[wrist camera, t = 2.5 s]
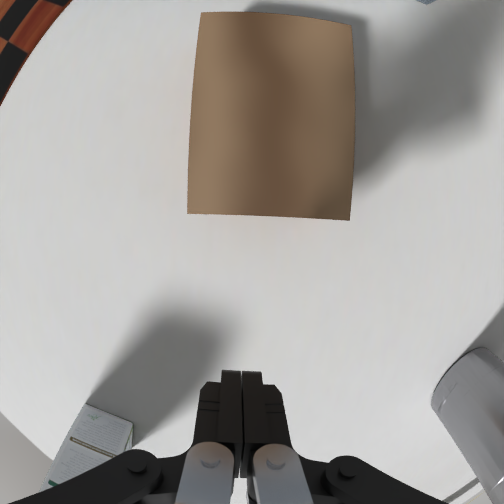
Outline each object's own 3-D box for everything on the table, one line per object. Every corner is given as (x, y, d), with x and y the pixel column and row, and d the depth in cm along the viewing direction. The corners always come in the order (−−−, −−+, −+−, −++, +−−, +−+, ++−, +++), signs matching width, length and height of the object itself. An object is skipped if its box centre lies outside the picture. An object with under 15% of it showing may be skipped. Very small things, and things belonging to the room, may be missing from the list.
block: (329, 53, 15) (351, 25, 11) (325, 209, 18) (349, 220, 14) (210, 44, 15) (201, 12, 11) (201, 204, 18) (187, 213, 14)
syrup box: (83, 401, 22) (25, 507, 8) (136, 422, 23) (95, 543, 9) (87, 430, 24) (43, 525, 10) (134, 449, 24) (103, 552, 10)
